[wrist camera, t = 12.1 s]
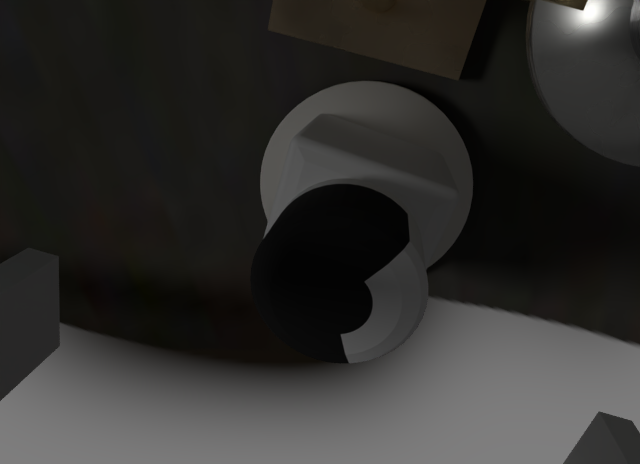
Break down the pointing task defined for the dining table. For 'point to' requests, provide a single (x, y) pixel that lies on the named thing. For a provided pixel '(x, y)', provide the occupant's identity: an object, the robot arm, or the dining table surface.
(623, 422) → the robot arm
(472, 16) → the balance
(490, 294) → the dining table surface
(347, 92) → the dish
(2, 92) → the dining table surface
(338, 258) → the grey piece
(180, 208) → the dining table surface
